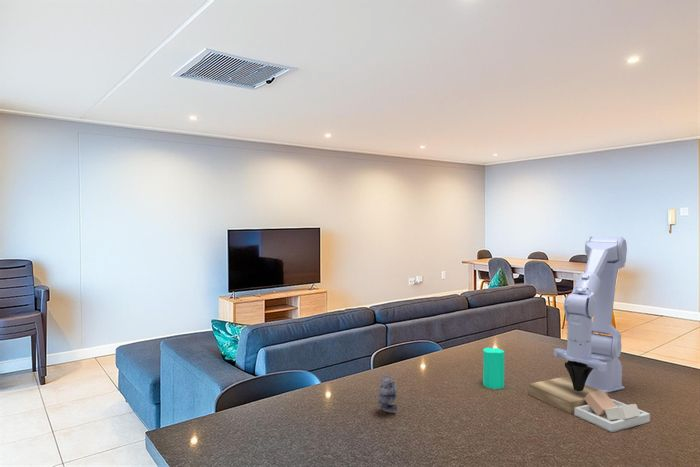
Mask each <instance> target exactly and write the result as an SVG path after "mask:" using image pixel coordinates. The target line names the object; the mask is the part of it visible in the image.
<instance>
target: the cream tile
mask: <svg viewBox="0 0 700 467" xmlns="http://www.w3.org/2000/svg"><path fill="white" fill-rule="evenodd" d="M638 409H639V408H638V405H637V404H636V403H631V404H626V405H620V406H615V407H611V408H607V409H605V412H606V415H607V418H608V420H616V419H628V418H631V417H635V416H639V415H640V413H639V410H640V409H639V410H638Z"/></svg>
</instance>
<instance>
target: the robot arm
mask: <svg viewBox="0 0 700 467" xmlns="http://www.w3.org/2000/svg"><path fill="white" fill-rule="evenodd" d="M627 244H628V243H627V241H626V239H625V238H624V237H623V236H621V237H605V236H602V237H601V236H588V237H587V238H586V240H585V243H584V252H585V254H586V258H587V261H586V265H585V269H584V272H581V273H580V274H579V275H578V277H577V279H576V281H575V283H574V286H573V289H572V291H571V293H569V294H566V296H565V298H564V303H563V310H564V314H565V321H566V322H567V330H566V331H567V332H566V333H567V335H566V336H567V337H566V338H567V340H566V341H567V344H566V346H567V347H566V349H563V348H559V347H558V348H554V349H553V357H557V358H563V359H565V360H567V362H564V367H565V368H566V369H565V370H567V372H568V375H569V378H570V379H571V380H572V384H573V388H574V390H576V391H583V389H584V386H585V385H588V386H590V387H593V388H596V389H598V390H603V391H604V392H606V393H611V392H615V391H619V390H620V391H621V390H624V389H625V386H623V384H622V383H623V382H622V381H623V378H622V377H623V373H622V372H623V367H622V363H621V360H620V359H619V357H620V356H621V353H622V335H621V334H622V333H621V332H620V331H619V330H618V329H617V328H616V327H614V326H613V325H612V321H613V310H614V302H615V293H616V287H617V286H616V285H617V278H618V277H617V276H618V273H619V270H620V269H622V268H624V267H625V266H626V261H627V254H628V246H627Z"/></svg>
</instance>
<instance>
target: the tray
mask: <svg viewBox="0 0 700 467" xmlns="http://www.w3.org/2000/svg"><path fill="white" fill-rule="evenodd" d="M610 399H611V400H612V401H613V402H614V403H615V404H616V405H617V406H620V405H627V404H626V403H624V402H622V401H618V400H616V399H614V398H610ZM638 410H639V413H640V415H639V416H635V417H631V418H628V419H616V420H608V418H607V415H606V414H604V415H600V416H598V415H597V414H596V413H595V412H594V410H593V409H592V408H591V407H590V406H589V405H588V404H587V405H583V406H579V407H575V413H574V417H576V418H580V419H582V420H583V421H586V422H588V423H590V424H592V425H594V426H597V427H599V428H601V429H603V430H605V431H608V432H610V433H615V432H619V431H623V430H627V429H630V428H633V427H636V426H639V425H640V426H641V425H643V424H647V423H650V422H651V413H649V412H647V411H644V410H642V409H640V408H638Z"/></svg>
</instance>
